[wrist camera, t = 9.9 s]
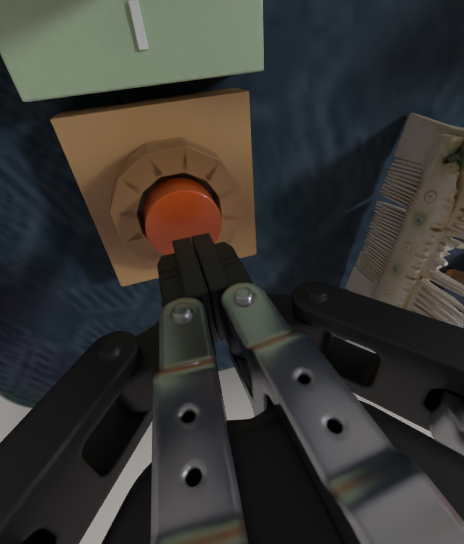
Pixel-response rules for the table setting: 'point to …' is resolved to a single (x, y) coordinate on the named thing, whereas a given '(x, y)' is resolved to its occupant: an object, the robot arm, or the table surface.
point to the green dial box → (126, 43)
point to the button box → (161, 167)
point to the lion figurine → (456, 276)
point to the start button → (179, 213)
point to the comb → (417, 224)
